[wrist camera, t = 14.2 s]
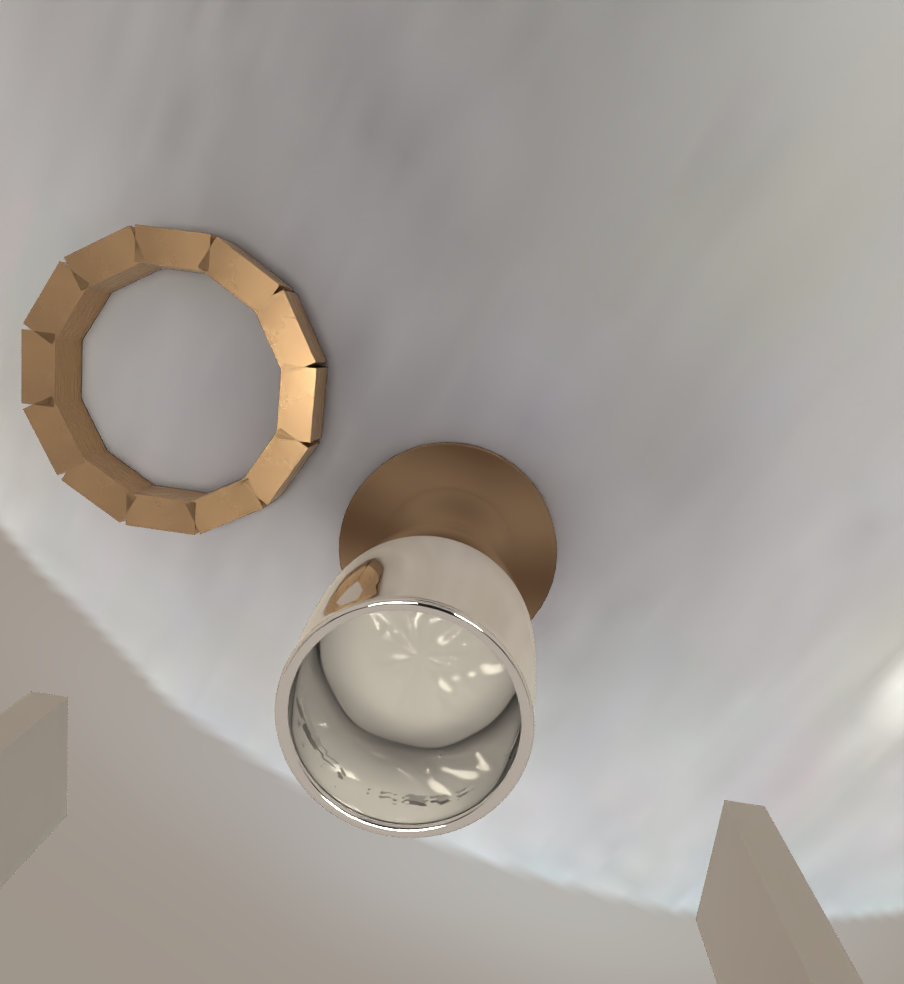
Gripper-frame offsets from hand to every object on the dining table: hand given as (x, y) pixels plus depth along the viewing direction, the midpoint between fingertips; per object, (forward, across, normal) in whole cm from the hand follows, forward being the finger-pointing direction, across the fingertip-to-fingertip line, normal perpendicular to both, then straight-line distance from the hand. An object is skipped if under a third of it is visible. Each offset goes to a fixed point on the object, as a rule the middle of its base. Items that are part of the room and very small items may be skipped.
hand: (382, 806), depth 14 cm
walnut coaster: (+20, 0, -1) cm, 20 cm away
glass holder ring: (+20, -13, +5) cm, 24 cm away
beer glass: (+19, 0, 0) cm, 19 cm away
